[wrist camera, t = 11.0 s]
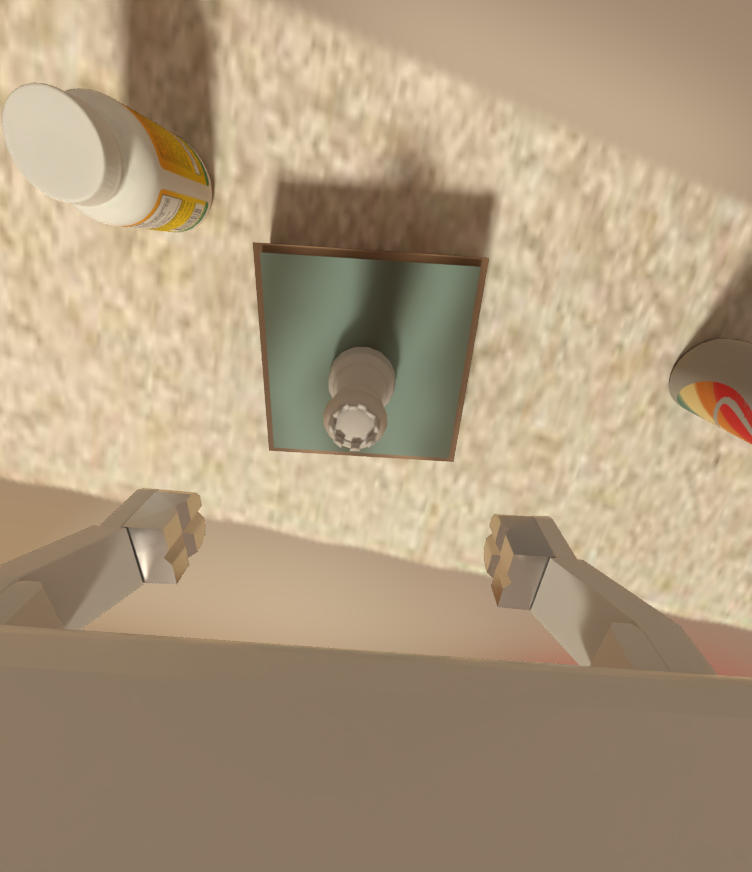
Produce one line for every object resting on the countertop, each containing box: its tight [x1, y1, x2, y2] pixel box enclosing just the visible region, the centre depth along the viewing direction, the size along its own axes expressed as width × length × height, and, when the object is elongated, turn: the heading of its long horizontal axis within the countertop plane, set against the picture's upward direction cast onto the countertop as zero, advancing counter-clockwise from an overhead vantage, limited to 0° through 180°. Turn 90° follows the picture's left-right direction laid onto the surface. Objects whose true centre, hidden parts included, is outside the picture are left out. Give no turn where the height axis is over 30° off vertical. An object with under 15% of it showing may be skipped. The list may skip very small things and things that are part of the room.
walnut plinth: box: [253, 242, 489, 462], centre depth 27 cm, size 14×14×4 cm
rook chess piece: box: [323, 347, 395, 451], centre depth 22 cm, size 4×4×8 cm
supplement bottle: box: [2, 83, 212, 232], centre depth 20 cm, size 5×5×10 cm
